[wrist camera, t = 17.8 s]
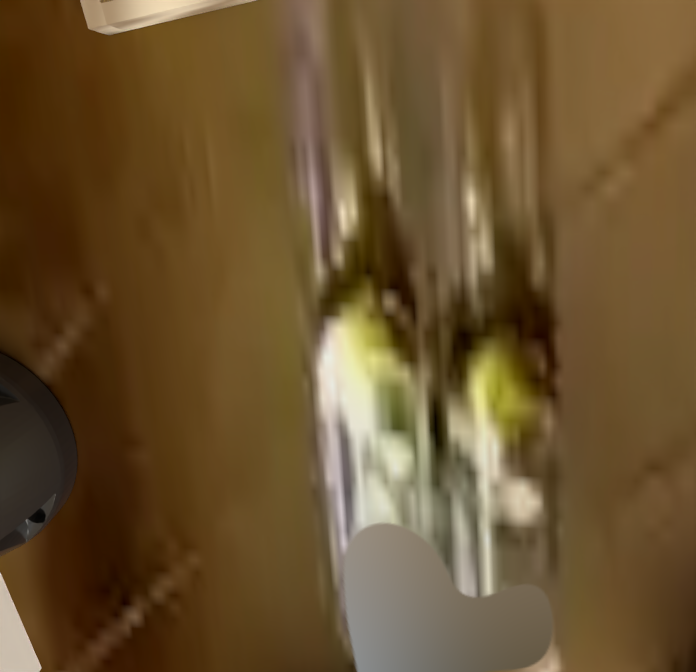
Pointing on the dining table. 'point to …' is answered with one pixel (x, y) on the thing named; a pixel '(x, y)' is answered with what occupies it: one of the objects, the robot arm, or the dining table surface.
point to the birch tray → (144, 12)
